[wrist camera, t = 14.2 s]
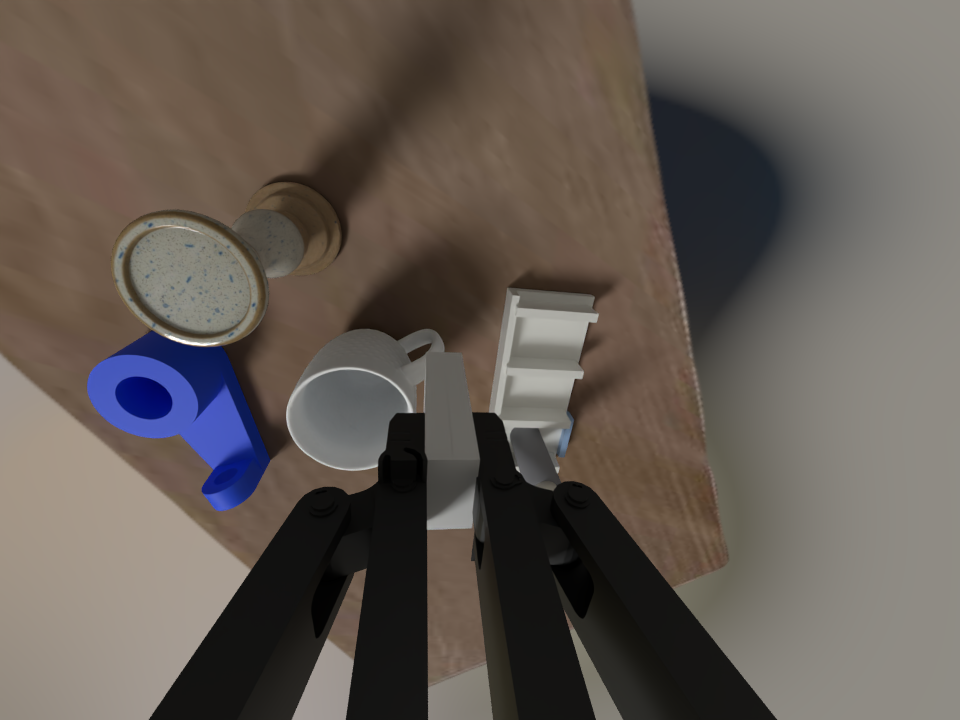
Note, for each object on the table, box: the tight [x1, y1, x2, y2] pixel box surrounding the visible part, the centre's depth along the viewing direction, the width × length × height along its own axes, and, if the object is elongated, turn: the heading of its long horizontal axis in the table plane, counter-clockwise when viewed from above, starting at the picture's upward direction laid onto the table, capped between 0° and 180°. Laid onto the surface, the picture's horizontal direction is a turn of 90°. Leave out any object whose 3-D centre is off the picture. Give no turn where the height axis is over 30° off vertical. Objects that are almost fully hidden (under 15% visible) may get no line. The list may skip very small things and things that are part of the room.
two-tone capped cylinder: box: [510, 427, 561, 491], centre depth 47 cm, size 4×4×13 cm
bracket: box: [87, 331, 270, 511], centre depth 44 cm, size 20×9×8 cm, turn 13°
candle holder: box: [111, 182, 342, 347], centre depth 31 cm, size 9×9×20 cm
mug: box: [286, 329, 445, 470], centre depth 41 cm, size 15×11×13 cm
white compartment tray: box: [489, 287, 599, 473], centre depth 49 cm, size 24×11×4 cm, turn 173°
